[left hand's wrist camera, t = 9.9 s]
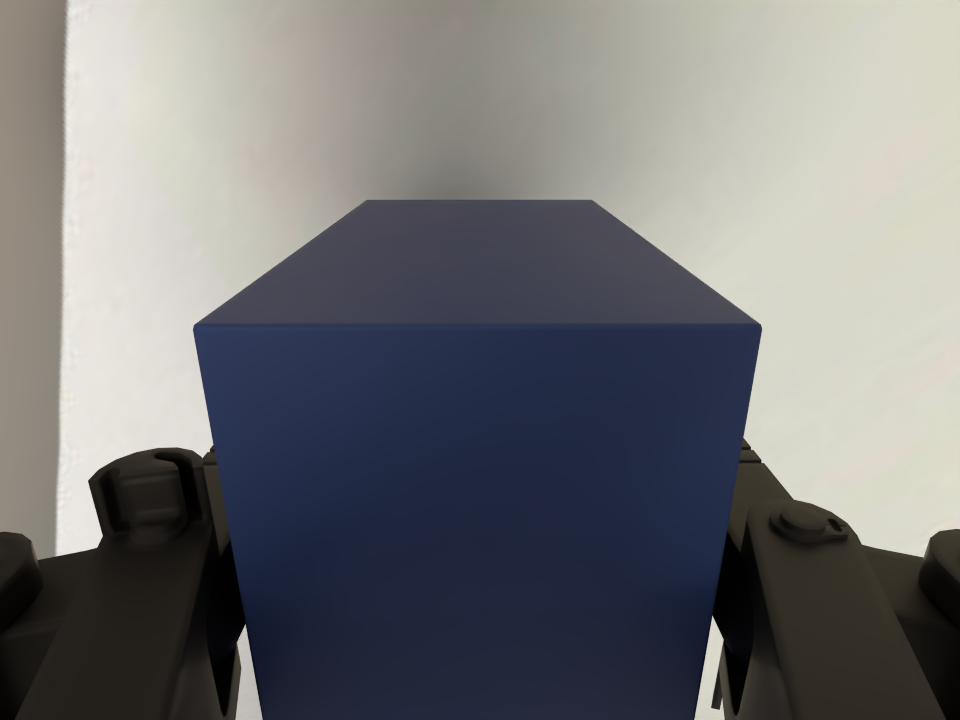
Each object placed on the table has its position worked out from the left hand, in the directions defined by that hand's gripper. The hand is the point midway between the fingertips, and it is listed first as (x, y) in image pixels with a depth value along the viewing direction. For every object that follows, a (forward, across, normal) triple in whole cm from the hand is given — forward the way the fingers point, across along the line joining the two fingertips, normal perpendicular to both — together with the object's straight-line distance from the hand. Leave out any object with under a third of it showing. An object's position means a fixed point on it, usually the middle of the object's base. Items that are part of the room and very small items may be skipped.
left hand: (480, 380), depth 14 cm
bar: (+1, 0, -10) cm, 10 cm away
